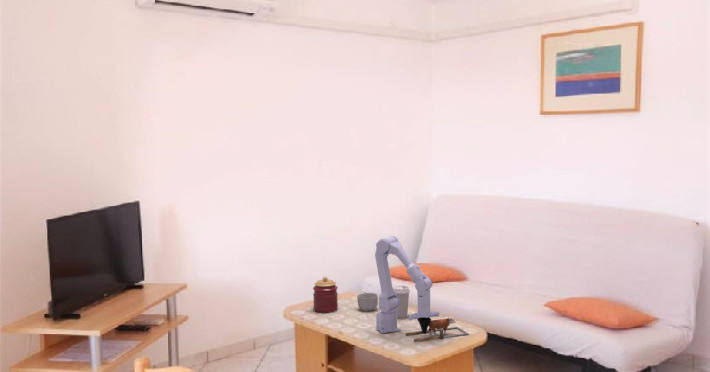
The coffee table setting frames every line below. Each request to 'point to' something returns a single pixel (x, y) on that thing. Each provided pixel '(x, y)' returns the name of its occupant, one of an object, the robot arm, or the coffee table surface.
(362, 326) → the coffee table surface
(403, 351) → the coffee table surface
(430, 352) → the coffee table surface
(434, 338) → the pair of brown bars
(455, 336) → the frame
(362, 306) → the teacup
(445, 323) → the bull figurine
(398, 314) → the coffee cup
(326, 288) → the canister
